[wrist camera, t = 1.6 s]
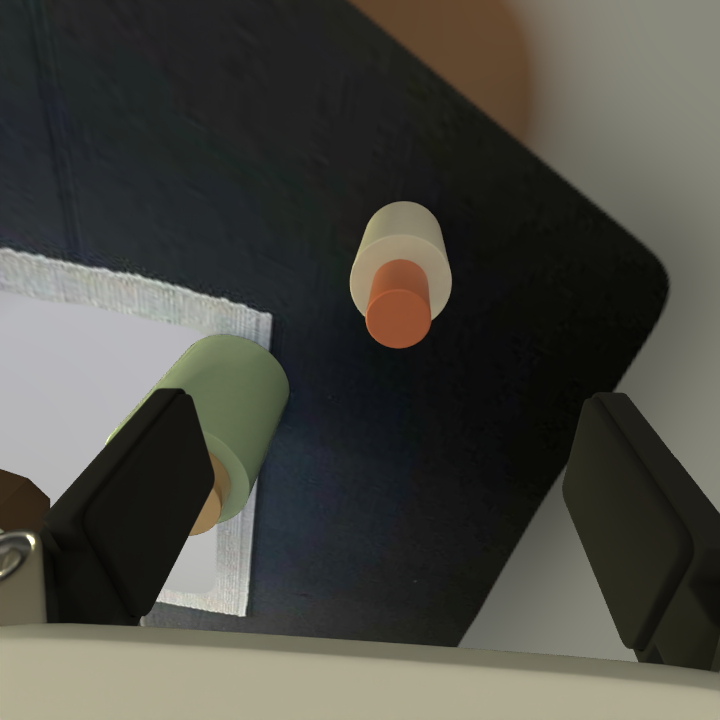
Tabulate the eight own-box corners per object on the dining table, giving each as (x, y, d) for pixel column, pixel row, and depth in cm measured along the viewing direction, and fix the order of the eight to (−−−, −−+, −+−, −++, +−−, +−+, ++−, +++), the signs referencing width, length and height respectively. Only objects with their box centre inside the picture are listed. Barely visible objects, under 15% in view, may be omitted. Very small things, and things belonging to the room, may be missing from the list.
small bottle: (362, 202, 24) (333, 262, 15) (443, 199, 23) (464, 260, 14) (365, 278, 26) (342, 370, 17) (439, 277, 26) (455, 372, 17)
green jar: (166, 334, 30) (60, 435, 21) (280, 334, 29) (222, 440, 20) (195, 426, 34) (116, 544, 25) (296, 428, 33) (252, 552, 24)
